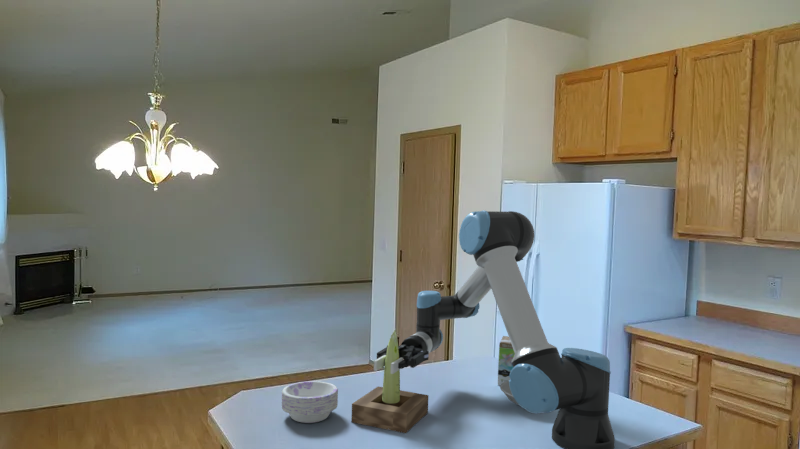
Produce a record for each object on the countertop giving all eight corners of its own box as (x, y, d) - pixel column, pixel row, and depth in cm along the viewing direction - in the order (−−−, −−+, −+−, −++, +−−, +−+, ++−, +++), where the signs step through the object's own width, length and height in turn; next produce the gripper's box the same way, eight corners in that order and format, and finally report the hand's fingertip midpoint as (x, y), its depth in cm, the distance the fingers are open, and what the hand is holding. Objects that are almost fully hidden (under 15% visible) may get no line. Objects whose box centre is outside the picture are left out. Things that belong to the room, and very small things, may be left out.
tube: (404, 402, 152) (406, 332, 151) (389, 406, 149) (391, 334, 148) (393, 396, 157) (395, 328, 156) (378, 399, 154) (380, 330, 153)
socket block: (427, 412, 157) (428, 395, 157) (406, 433, 142) (406, 414, 142) (377, 403, 163) (377, 386, 163) (351, 422, 149) (351, 403, 149)
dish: (561, 416, 157) (562, 399, 156) (514, 419, 154) (514, 401, 154) (534, 395, 174) (535, 379, 174) (491, 397, 171) (492, 381, 171)
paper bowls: (306, 403, 162) (306, 376, 162) (348, 414, 154) (348, 386, 154) (269, 419, 149) (269, 390, 149) (313, 433, 141) (313, 402, 141)
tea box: (497, 386, 182) (498, 341, 181) (500, 377, 191) (502, 335, 191) (544, 392, 177) (545, 346, 177) (545, 382, 187) (547, 339, 186)
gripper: (442, 363, 166) (413, 386, 144) (390, 355, 172) (354, 376, 151) (443, 338, 165) (413, 358, 144) (390, 331, 172) (355, 349, 151)
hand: (383, 367), depth 148 cm, fingers closed on tube, 4 cm apart
